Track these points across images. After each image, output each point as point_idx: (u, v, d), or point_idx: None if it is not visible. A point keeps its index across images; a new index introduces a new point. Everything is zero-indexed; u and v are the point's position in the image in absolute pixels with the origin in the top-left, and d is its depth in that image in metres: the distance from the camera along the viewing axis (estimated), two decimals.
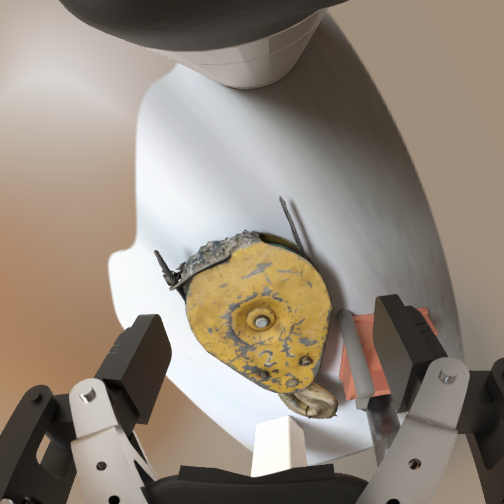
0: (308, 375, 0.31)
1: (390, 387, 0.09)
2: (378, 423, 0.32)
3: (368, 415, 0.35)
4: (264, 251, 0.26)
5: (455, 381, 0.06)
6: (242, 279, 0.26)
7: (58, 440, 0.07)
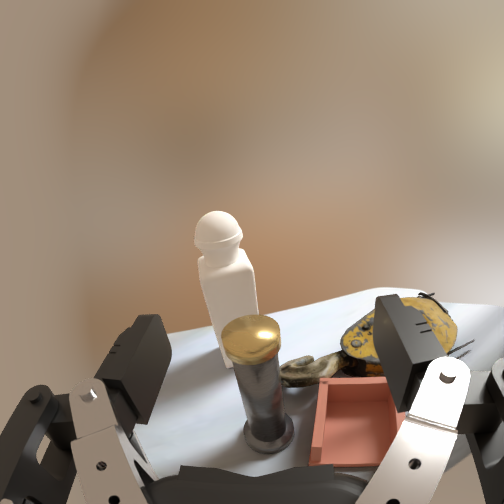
0: (363, 353, 0.35)
1: (390, 387, 0.09)
2: None
3: None
4: (453, 325, 0.37)
5: (455, 381, 0.06)
6: (437, 316, 0.38)
7: (58, 440, 0.07)
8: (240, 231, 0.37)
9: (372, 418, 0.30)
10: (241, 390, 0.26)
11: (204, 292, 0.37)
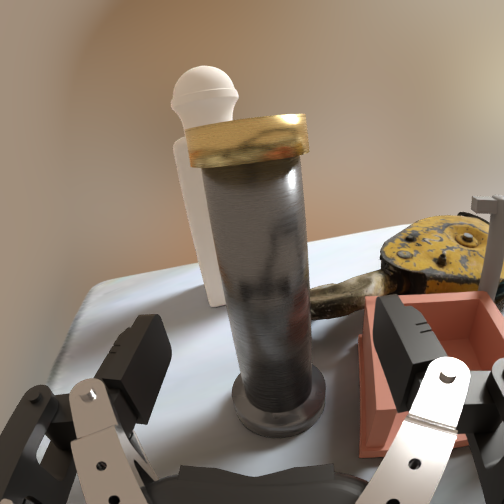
0: (419, 265, 0.23)
1: (390, 387, 0.09)
2: None
3: None
4: None
5: (455, 381, 0.06)
6: None
7: (58, 440, 0.07)
8: (235, 89, 0.24)
9: None
10: (224, 273, 0.13)
11: (178, 166, 0.23)
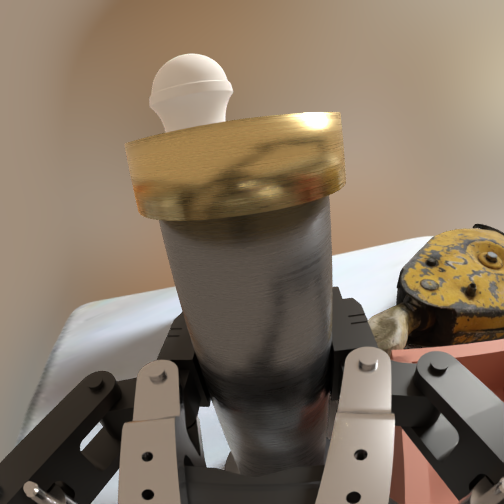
0: (448, 299, 0.18)
1: None
2: None
3: None
4: None
5: (373, 370, 0.07)
6: None
7: (111, 430, 0.07)
8: (228, 82, 0.19)
9: None
10: (204, 370, 0.08)
11: None
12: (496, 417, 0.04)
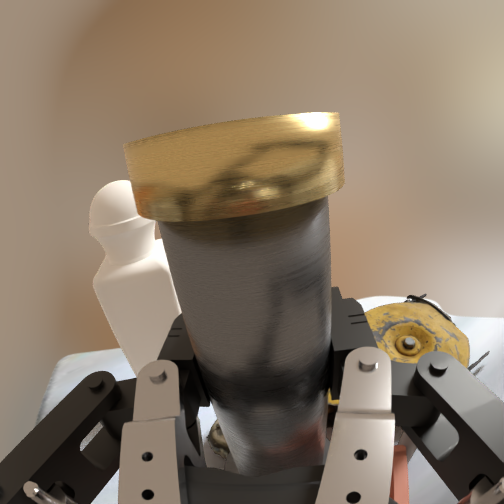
0: None
1: None
2: None
3: None
4: (463, 336, 0.26)
5: (373, 370, 0.07)
6: (440, 326, 0.27)
7: (111, 430, 0.07)
8: None
9: None
10: (203, 371, 0.08)
11: (100, 302, 0.22)
12: (496, 417, 0.04)
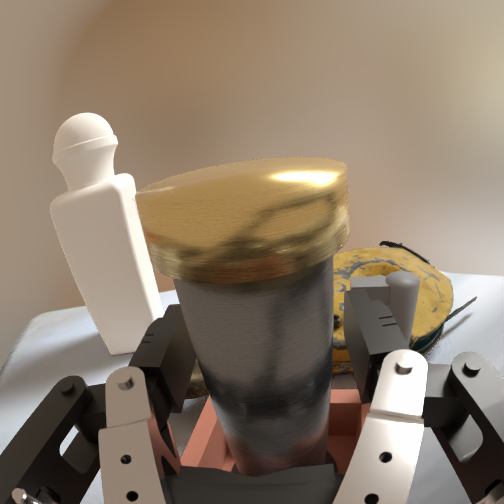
0: None
1: (356, 379, 0.09)
2: None
3: None
4: (444, 277, 0.25)
5: (411, 372, 0.06)
6: (416, 266, 0.26)
7: (86, 433, 0.07)
8: (110, 136, 0.21)
9: None
10: (213, 399, 0.08)
11: (55, 227, 0.21)
12: None
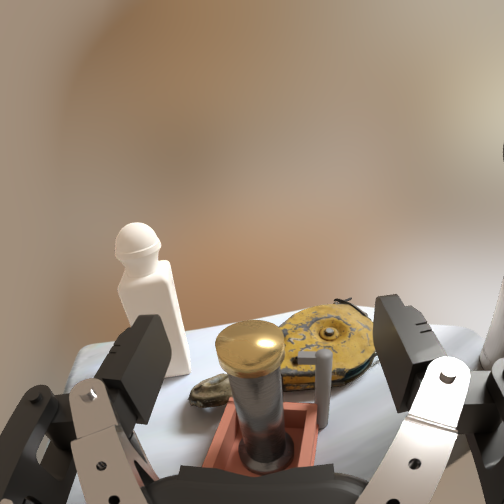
0: None
1: (390, 387, 0.09)
2: None
3: None
4: None
5: (455, 381, 0.06)
6: (356, 320, 0.42)
7: (58, 440, 0.07)
8: (156, 243, 0.36)
9: None
10: (237, 406, 0.22)
11: (122, 302, 0.35)
12: None
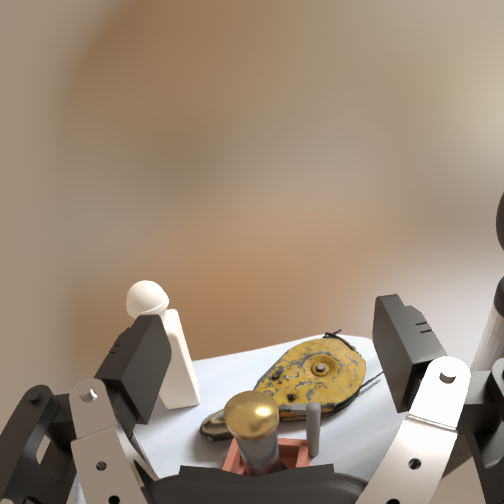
0: None
1: (390, 387, 0.09)
2: None
3: None
4: (361, 361, 0.44)
5: (455, 381, 0.06)
6: (344, 355, 0.46)
7: (58, 440, 0.07)
8: (165, 300, 0.39)
9: None
10: (241, 452, 0.26)
11: None
12: None
